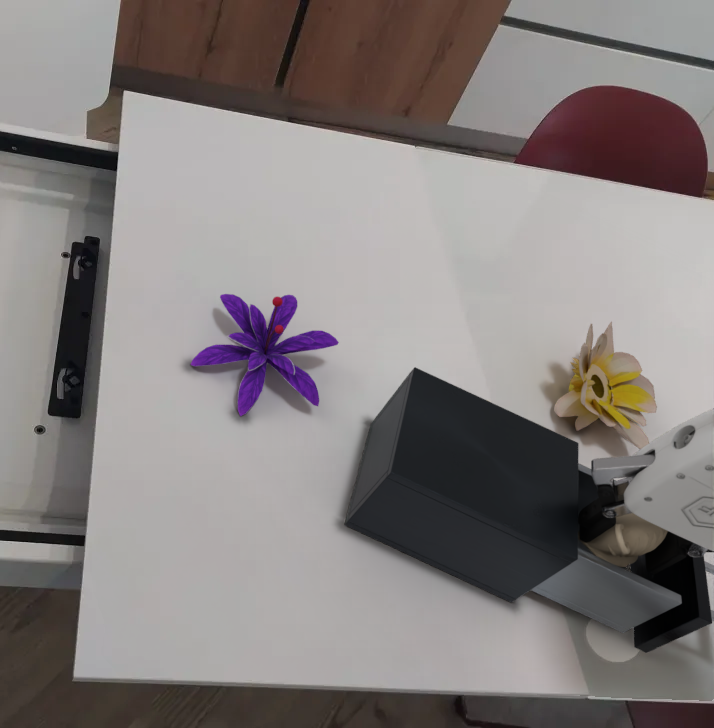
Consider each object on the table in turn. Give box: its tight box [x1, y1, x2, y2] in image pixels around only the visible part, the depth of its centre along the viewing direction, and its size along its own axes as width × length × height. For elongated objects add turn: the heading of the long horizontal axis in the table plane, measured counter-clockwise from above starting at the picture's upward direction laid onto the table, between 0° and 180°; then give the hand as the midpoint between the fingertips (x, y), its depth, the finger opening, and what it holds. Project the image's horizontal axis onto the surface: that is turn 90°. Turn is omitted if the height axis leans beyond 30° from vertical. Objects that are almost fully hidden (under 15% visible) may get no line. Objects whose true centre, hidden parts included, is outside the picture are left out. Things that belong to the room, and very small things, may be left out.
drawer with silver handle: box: [530, 462, 714, 654], centre depth 67 cm, size 23×11×8 cm, turn 71°
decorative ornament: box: [578, 513, 668, 568], centre depth 65 cm, size 4×8×5 cm, turn 111°
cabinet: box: [344, 366, 579, 603], centre depth 67 cm, size 17×13×10 cm
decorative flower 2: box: [553, 320, 658, 450], centre depth 82 cm, size 15×11×10 cm
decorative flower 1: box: [190, 293, 339, 417], centre depth 72 cm, size 14×15×7 cm
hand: (617, 542), depth 66 cm, fingers closed on decorative ornament, 5 cm apart
